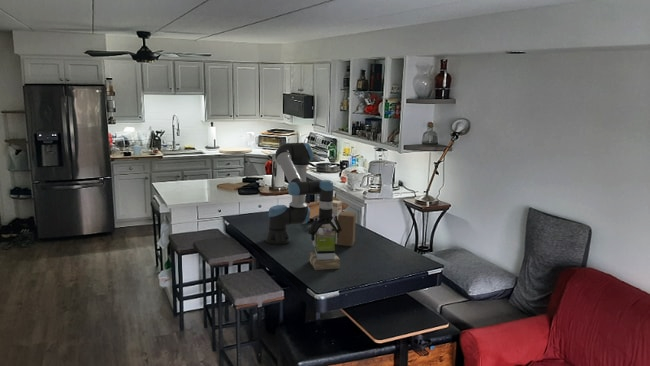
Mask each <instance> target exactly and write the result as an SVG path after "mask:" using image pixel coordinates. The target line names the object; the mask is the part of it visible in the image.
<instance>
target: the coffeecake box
mask: <svg viewBox="0 0 650 366" xmlns="http://www.w3.org/2000/svg"><path fill="white" fill-rule="evenodd" d="M342 206H343V201H340V200H336V199H335V200H334V199H333V207H332V209H333V210H332V216H334V215H336V216H337V219H338V215H339V214H340V212H343V210H342V209H343V207H342ZM331 221H332V223H333V224H334V225H335V227H336V228H337V226H336V223H335V221H334V219H332V220H331ZM328 227H331V229H332V230H334V229H333V227H332V226H331V225H330V224H325V225H322V226H321V227H320V228H328ZM337 229H338V228H337Z"/></svg>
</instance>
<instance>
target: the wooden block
mask: <svg viewBox="0 0 650 366" xmlns="http://www.w3.org/2000/svg"><path fill="white" fill-rule="evenodd" d="M356 217H357V213H356V212H350V211H342V212H340V214H339V215H338V222H339V224H340V227H341V229H342V231H340V232H339V233H338V238H337V244H336V245H337V246H345V247H353V246H354V244H355V242H356Z"/></svg>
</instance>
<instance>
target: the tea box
mask: <svg viewBox="0 0 650 366" xmlns="http://www.w3.org/2000/svg"><path fill="white" fill-rule="evenodd" d="M334 232H335V231H333V229H331V227H328V228H326V227H320V228H319V230H318V231H317V232H316V234H315V235H316V247H314V252H315V253H316V256H317V259H318V260H329V259H335V254H336V253H335V252H336V251H335V250H336V249H335V248H336V246H335V245H336V244H335V234H334Z"/></svg>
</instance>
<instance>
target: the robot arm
mask: <svg viewBox="0 0 650 366" xmlns="http://www.w3.org/2000/svg"><path fill="white" fill-rule="evenodd" d="M274 157H275V158H274V159H275V161H276V163H277V164H278V166H280V168H281V169H282V172H283V174H284V175H285V178H286V180H287V182H288V185H287V192H288V195H290V196H291V202H290V203H289V205H288V206H287V205H285V204H276V205H273V206H271V207H270V208H269V209H268V230H267V233H266V237H265V243H267V244H270V245H272V246H273V245H275V246H281V245H286V244H287V243H289V242H290V236H289V233H288V230H287V228H288V226H293V225H294V226H295V225H303V224H307V223H308V222H309V221H310V218H311V209H310V207H309V205H308V204H307V203H306V196H309V195H319V196H318V200H319V203H318V207H319V209H318V217H316V216H314V217H313V220H312V223H311V225H310V228H309V230H308V234H309V235H311V241H312V246H313V247H314V248H315V247H316V235H315V234H316V232H317V231H318V230H319V228H322V227H321V226H322V225H325V224H330V225H331V226H332V227H333V229H332V230H334V231H333V232H334V234H335V245H337V239H338V233H339V232H340V231H342V229H341V227H340V224H339V222H338V219H337V216H336V215H334V216H332V210H333V209H332V207H333V200H334V182H333V180H329V179H323V180H321V179H315V180H312V181H307V169H308V166H309V165H310V162H311V161H313V158H314V152H313V148H312V146H311V144H310V143H307V142H285V143H282V144H281V145H279V146H278V147H277V149H276V151H275V154H274ZM332 219H334V221H335V223H336V226H337V228H338V229H337V228H336V227H335V225H334V224H333V223H332V221H331V220H332Z"/></svg>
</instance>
